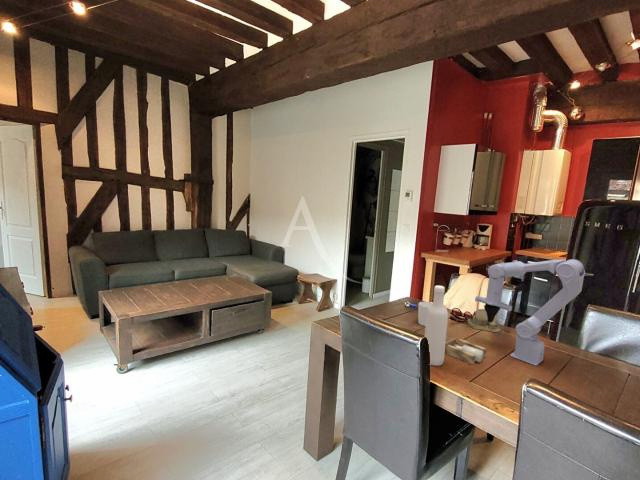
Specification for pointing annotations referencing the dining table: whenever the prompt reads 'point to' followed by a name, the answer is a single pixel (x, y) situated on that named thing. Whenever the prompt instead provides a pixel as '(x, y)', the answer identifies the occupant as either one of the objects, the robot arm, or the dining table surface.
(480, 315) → the ceramic model
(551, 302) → the robot arm
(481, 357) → the bottle
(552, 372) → the dining table surface
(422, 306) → the white cup
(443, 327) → the bottle
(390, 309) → the dining table surface
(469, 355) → the u rest
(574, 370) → the dining table surface
